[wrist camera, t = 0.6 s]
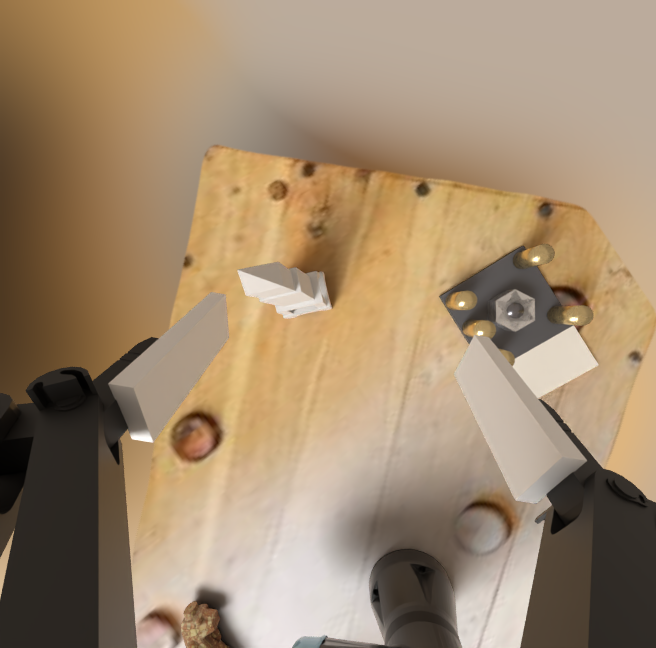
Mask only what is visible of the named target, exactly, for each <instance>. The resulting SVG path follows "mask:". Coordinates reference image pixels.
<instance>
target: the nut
mask: <svg viewBox="0 0 656 648" xmlns="http://www.w3.org/2000/svg"><path fill="white" fill-rule="evenodd" d="M488 321H490V322H492V323H493V324H494V325H496V326H498V327H500V328H502V329H504V330H506V331H513V332H516V331H518V330H519V329H521V328H523V327H525V326H526V325H528V324H530V323H531V322H533V321H535V299H534V298H532V297H530V296H528V295H526V294H524V293H522V292H520V291H518V290H516V289H513V290H506V291H504V292H502V293H501V294H499V295H497V296H496V297H494V298H492V299H491V300H489V301H488Z"/></svg>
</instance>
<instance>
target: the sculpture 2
mask: <svg viewBox="0 0 656 648" xmlns="http://www.w3.org/2000/svg"><path fill="white" fill-rule="evenodd" d="M238 273H239V276H240V279H241V282H242V285H243V288H244V291H245V294H246V296H251V297H258V298H259V301H260V302H264V303H268V304H273V305H275V306H276V310H277V313H280V314H283V318H288V319H290V318H294V317H296V316H299V315H302V314H306V313H311V312H315V311H322V310H329V309H332V305H331V303H330V299H329V296H328V292H327V287H326V282H325V274H324V272H323V271H322V272H317V271H313V272H309V273H303V272H302V271H301V270H299V269H298V268H296V267H294V268H290V269H288V268H286V267H285V266H283V265H282V264H280V263H279V262H275V263H270V264H264V265H259V266H254V267H249V268H244V269H239V270H238Z"/></svg>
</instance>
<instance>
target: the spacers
mask: <svg viewBox="0 0 656 648" xmlns="http://www.w3.org/2000/svg"><path fill="white" fill-rule="evenodd" d="M554 255H555V252H554V249H553V247H552V246H550V245H548V244H541V245H538V246H535V247H532V248H529V249H526V250H523V251H521V252H518V253H516V254H515V255H514V257H513V265H514V266H515V267H516V268H518V269H526V268H530V267H534V266H538V265H542V264H547V263H549V262H550V261H552V259H553V258H554ZM445 304H446V306H447V307H448V308H449V309H451V310H470V309H472V308H474V307H475V305H476V304H477V296H476V295H475V294H474V293H473V292H472V291H462V292H456V293H451V294H449V295H448V296H447V297H446V300H445ZM547 319H548V320H549V321H550V322H551V323H553V324H566V325H587V324H589V323H590V322H591V321H592V319H593V311H592V309H591V308H589V307H588V306H554V307H552V308H550V309H549V310H548V312H547ZM462 331H463V333H464V334H465V335H466V336H469V337H474V335H478V336H484V337H489V338H490V339H491V338H492V337H493V336H494V335H495V333H496V327H495V325H494V324H493V323H492V322H490V321H485V320H467V321H465V322H464V323H463V325H462ZM499 351H500V352H501V353H502V354H503V356H504V357H505V358H506V359H507V361H508V362H509V363H510V364H511V366H513V365H514V363H515V357H514V355H513V354H512V353H511V352H509V351H506V350H502V349H499Z"/></svg>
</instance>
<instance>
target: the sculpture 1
mask: <svg viewBox="0 0 656 648" xmlns="http://www.w3.org/2000/svg"><path fill="white" fill-rule="evenodd" d="M184 616H185V618H184V620H183V622H182V625H181V631H182V635H183V639H184V642H185V646H186V648H230V647H228V646H226V644H224V643H223V642H222V641H221V640H220V639H221V634H220V632H219V630H218V628H217V626H218V623H219V620H220V617H219V614H218V611H217V609H211V608H208V605H207V604H201V605H198V604H197V602H196V601H194V602H192V603H190V604H189V605H188V606H187V607H186V609H185V611H184Z"/></svg>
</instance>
